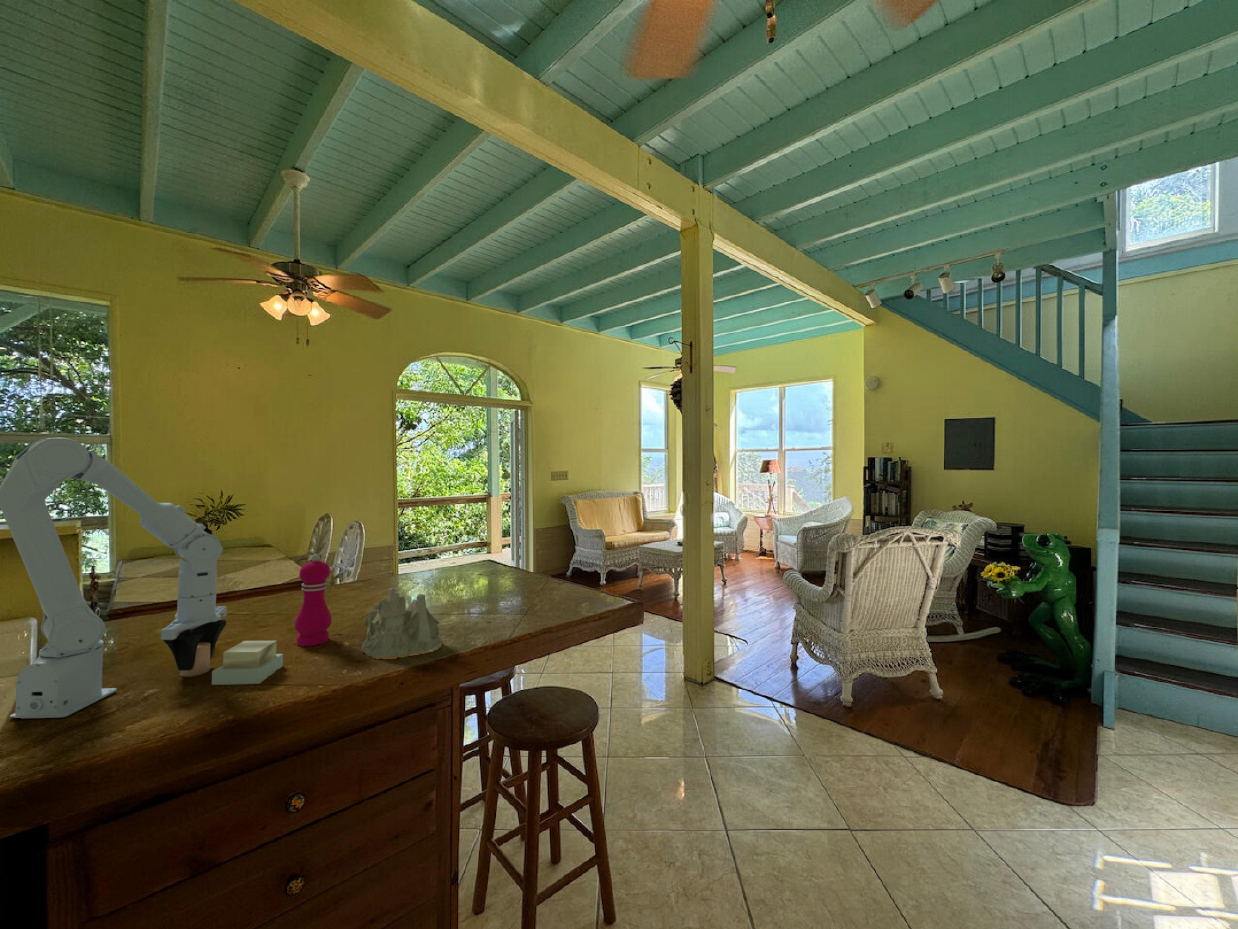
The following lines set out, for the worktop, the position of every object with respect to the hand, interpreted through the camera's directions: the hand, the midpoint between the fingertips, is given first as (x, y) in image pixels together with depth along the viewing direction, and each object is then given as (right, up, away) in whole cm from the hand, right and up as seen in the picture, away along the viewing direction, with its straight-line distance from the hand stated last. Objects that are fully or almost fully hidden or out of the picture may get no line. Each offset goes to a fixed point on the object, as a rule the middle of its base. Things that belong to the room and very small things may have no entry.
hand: (195, 664), depth 96 cm
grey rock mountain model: (+33, -3, +17) cm, 37 cm away
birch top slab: (+11, +1, 0) cm, 11 cm away
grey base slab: (+11, -2, -1) cm, 11 cm away
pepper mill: (+12, -2, +18) cm, 21 cm away
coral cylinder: (0, -1, 0) cm, 1 cm away
